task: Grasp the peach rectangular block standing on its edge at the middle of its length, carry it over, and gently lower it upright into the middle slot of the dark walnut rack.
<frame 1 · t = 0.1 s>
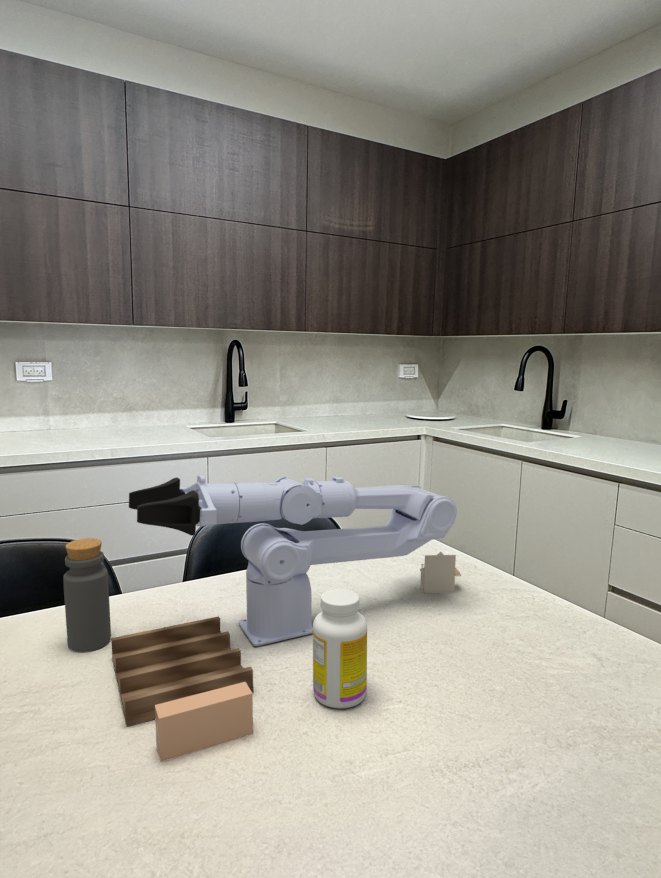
hand: (133, 507, 74), 22 cm above the kitchen island, tool horizontal, fingers open, 7 cm apart
peach rectangular block: (205, 741, 61), on the kitchen island
rack: (179, 674, 74), on the kitchen island
architectural model: (436, 594, 101), on the kitchen island
supplement bottle: (339, 695, 70), on the kitchen island
bottle: (89, 643, 82), on the kitchen island
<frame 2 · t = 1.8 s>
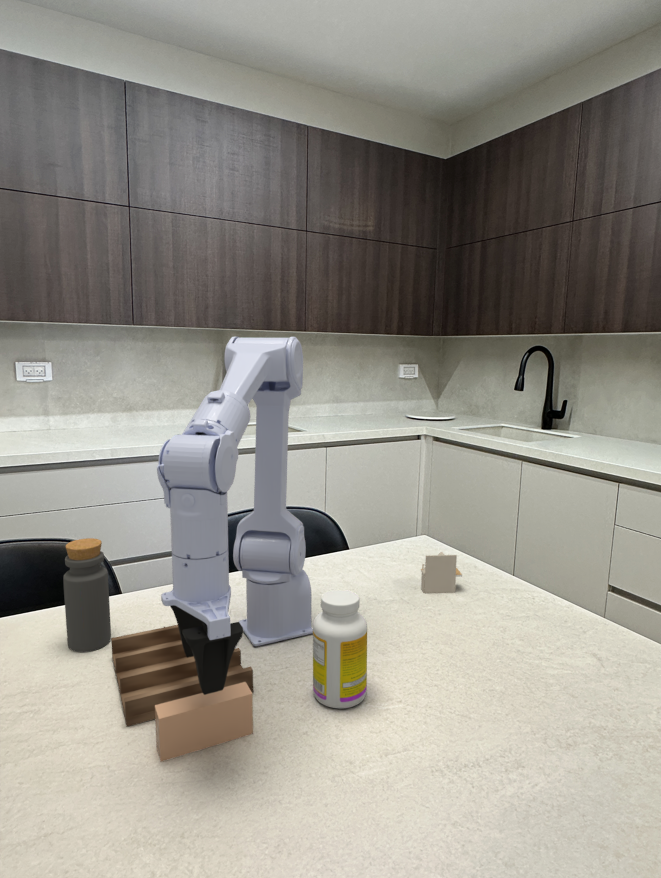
hand: (203, 671, 60), 8 cm above the kitchen island, tool pointing down, fingers open, 7 cm apart
nothing on the kitchen island moved.
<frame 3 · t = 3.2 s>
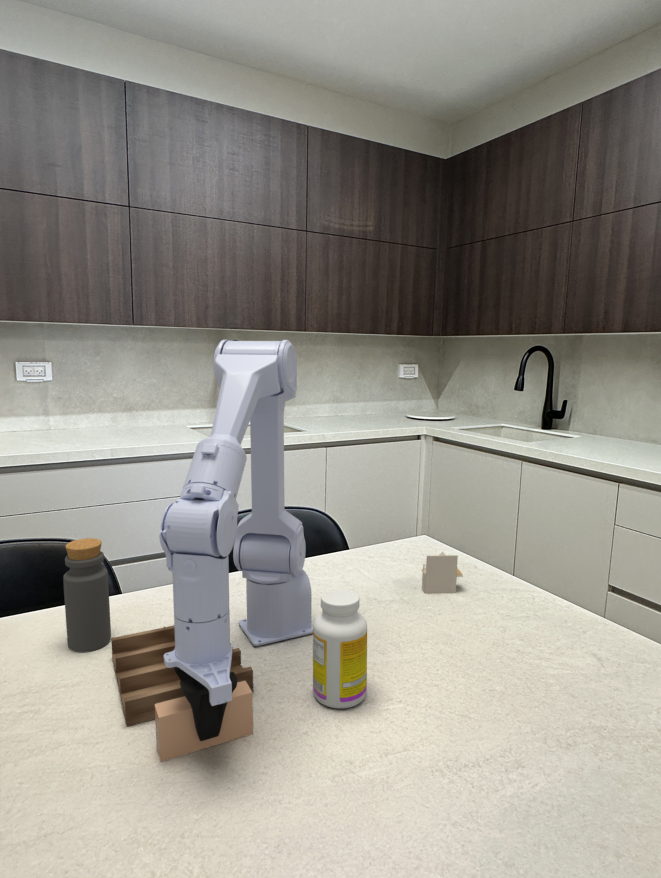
hand: (205, 728, 61), 1 cm above the kitchen island, tool pointing down, fingers closed on peach rectangular block, 2 cm apart
peach rectangular block: (205, 740, 61), on the kitchen island, touching gripper
everything else where it was.
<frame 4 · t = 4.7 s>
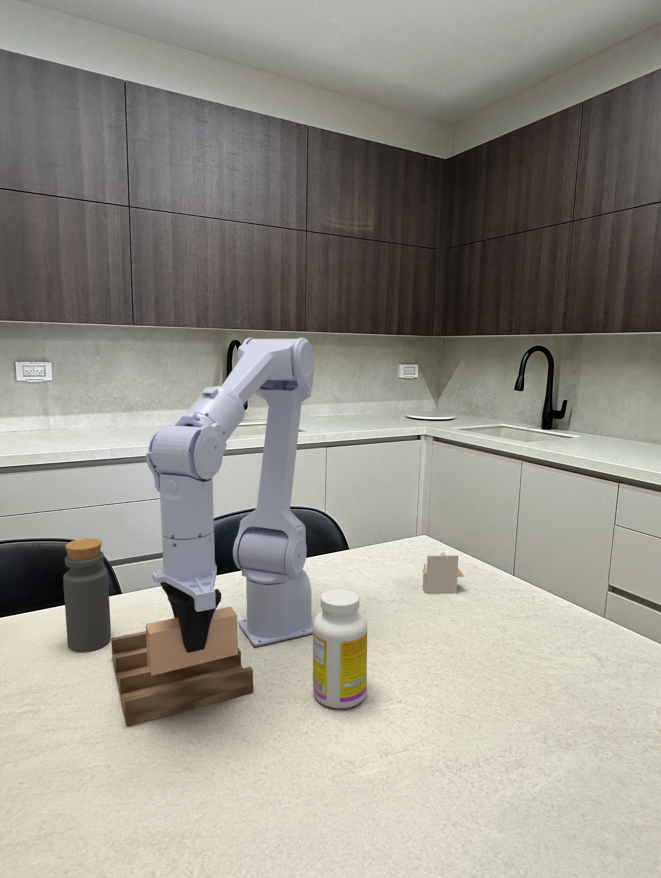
hand: (192, 643, 65), 8 cm above the kitchen island, tool pointing down, fingers closed on peach rectangular block, 2 cm apart
peach rectangular block: (193, 659, 66), point 6 cm above the kitchen island, touching gripper
everything else where it was.
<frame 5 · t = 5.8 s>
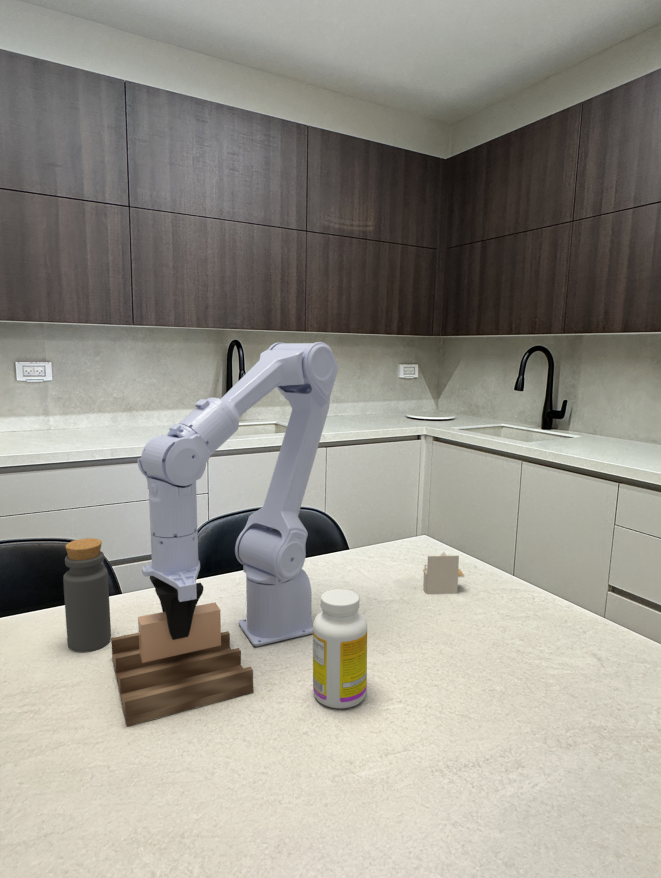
hand: (177, 631, 73), 6 cm above the kitchen island, tool pointing down, fingers closed on peach rectangular block, 2 cm apart
peach rectangular block: (180, 649, 73), point 3 cm above the kitchen island, touching gripper
everything else where it was.
when the fingers open (4 cm above the kitchen island, at t = 6.5 s): peach rectangular block stays where it is, resting on rack.
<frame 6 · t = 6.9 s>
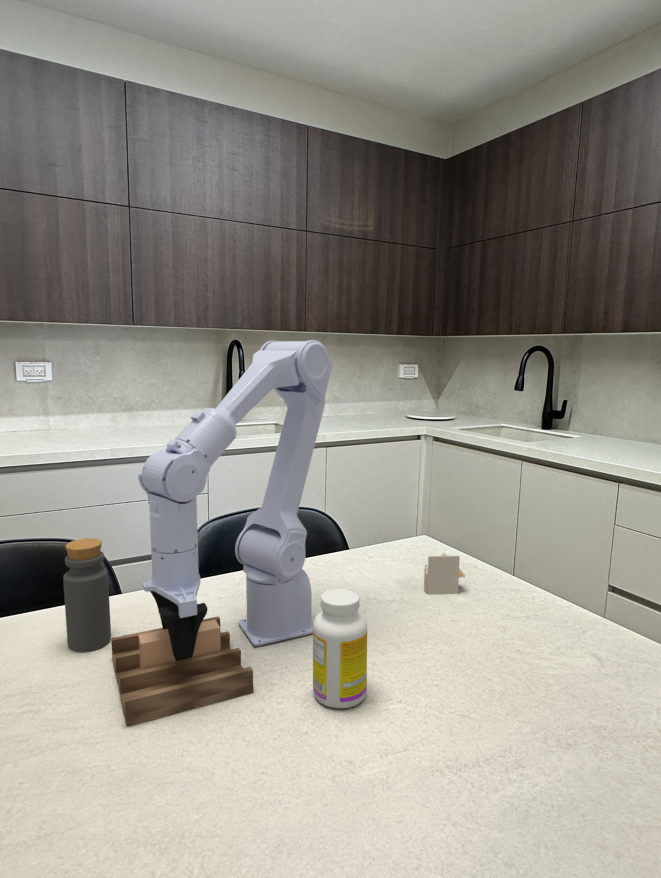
hand: (178, 645, 73), 4 cm above the kitchen island, tool pointing down, fingers open, 6 cm apart
peach rectangular block: (181, 666, 74), point 1 cm above the kitchen island, touching rack
everything else where it was.
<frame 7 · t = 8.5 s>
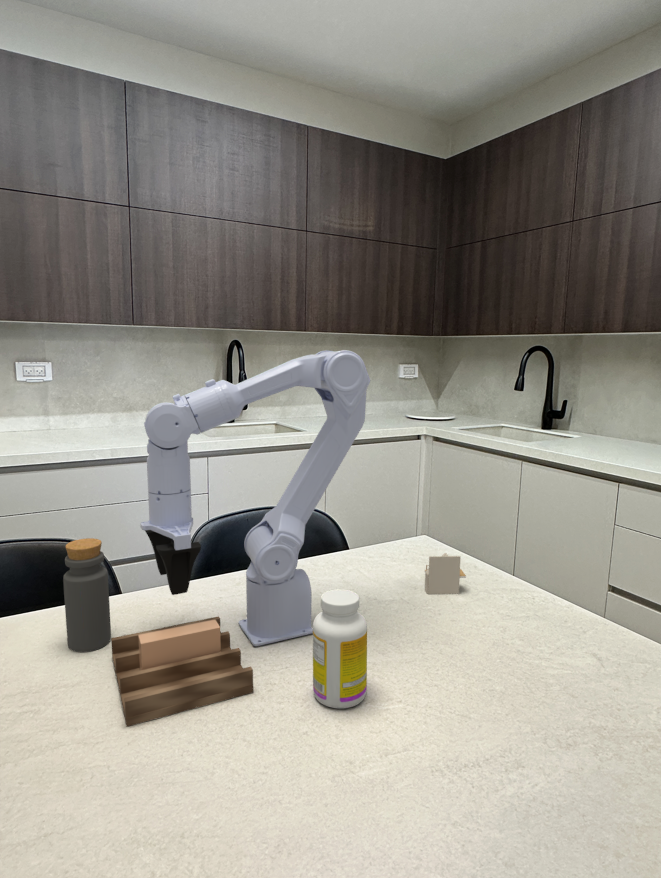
hand: (173, 582, 80), 9 cm above the kitchen island, tool pointing down, fingers open, 7 cm apart
nothing on the kitchen island moved.
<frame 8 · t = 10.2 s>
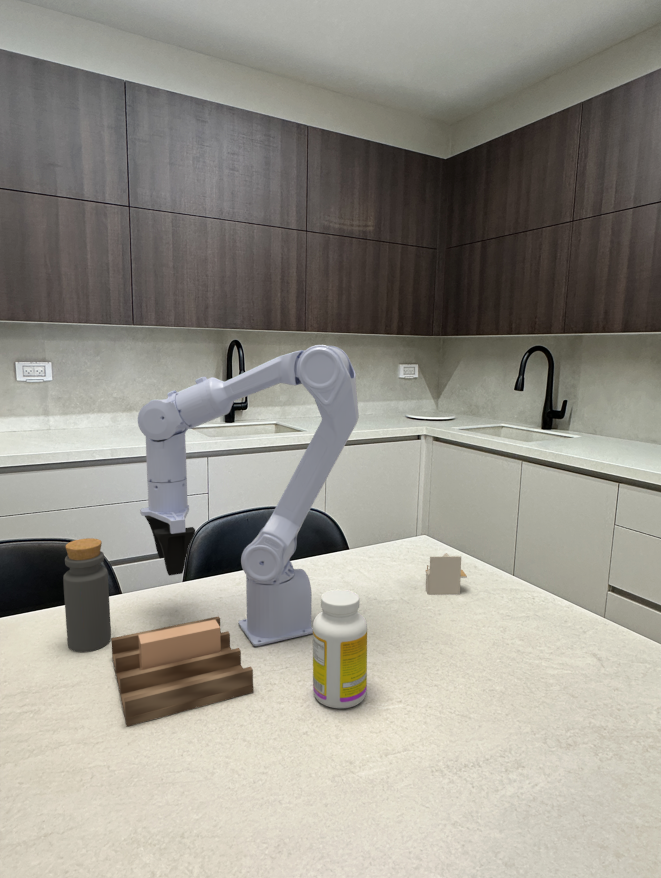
hand: (170, 565, 86), 9 cm above the kitchen island, tool pointing down, fingers open, 7 cm apart
at the end: peach rectangular block 0.3 cm off-centre on the rack, point 1.0 cm above the rack's base; peach rectangular block tilted 0°; the gripper is holding nothing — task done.
